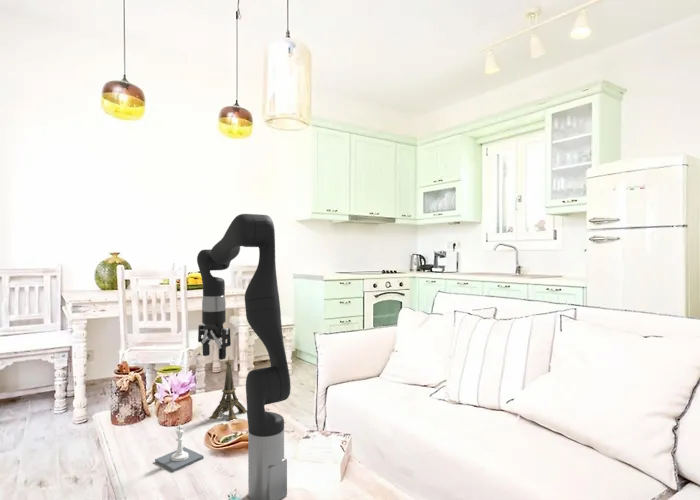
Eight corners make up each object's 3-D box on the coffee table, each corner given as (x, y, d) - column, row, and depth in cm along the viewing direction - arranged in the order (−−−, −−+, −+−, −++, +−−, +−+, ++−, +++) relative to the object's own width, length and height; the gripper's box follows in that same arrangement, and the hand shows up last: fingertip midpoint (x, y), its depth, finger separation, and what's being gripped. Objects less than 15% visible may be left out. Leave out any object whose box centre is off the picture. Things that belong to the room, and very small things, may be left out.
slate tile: (203, 458, 135) (203, 455, 135) (173, 471, 127) (173, 469, 127) (184, 449, 141) (184, 447, 141) (155, 461, 132) (155, 459, 132)
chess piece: (182, 462, 131) (182, 428, 131) (167, 460, 132) (167, 427, 132) (191, 454, 135) (191, 422, 135) (177, 453, 136) (177, 421, 136)
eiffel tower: (233, 421, 164) (233, 354, 163) (209, 418, 167) (209, 352, 167) (248, 411, 174) (248, 348, 173) (225, 408, 177) (224, 346, 177)
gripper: (236, 309, 145) (236, 358, 145) (210, 306, 154) (210, 352, 154) (218, 312, 139) (218, 363, 139) (191, 308, 148) (191, 356, 148)
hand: (214, 357), depth 147 cm, fingers open, 8 cm apart
